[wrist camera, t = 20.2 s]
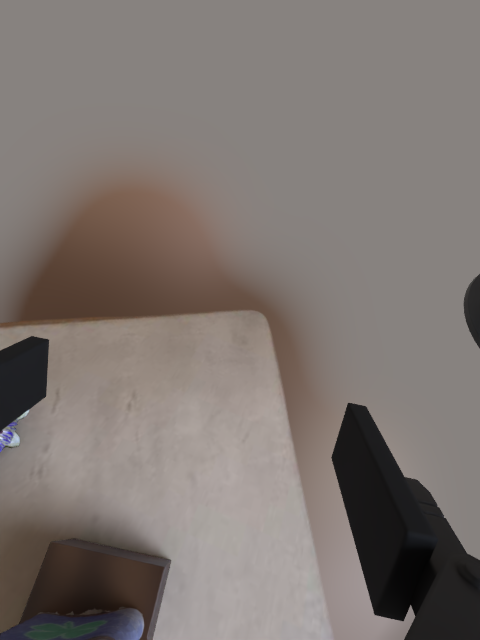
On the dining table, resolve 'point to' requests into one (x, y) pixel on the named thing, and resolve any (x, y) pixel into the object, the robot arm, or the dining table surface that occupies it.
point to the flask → (80, 626)
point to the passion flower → (10, 434)
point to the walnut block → (98, 582)
